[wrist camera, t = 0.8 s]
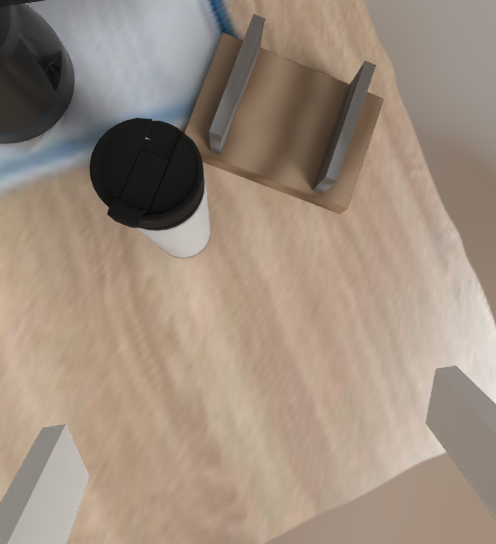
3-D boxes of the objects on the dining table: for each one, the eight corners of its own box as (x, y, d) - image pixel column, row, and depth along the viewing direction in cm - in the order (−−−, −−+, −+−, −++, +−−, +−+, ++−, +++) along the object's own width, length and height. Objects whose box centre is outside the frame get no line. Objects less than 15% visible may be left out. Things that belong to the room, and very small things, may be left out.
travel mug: (146, 249, 37) (63, 200, 17) (167, 196, 37) (111, 89, 18) (198, 269, 37) (176, 243, 17) (218, 216, 38) (219, 132, 18)
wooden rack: (182, 154, 38) (174, 123, 31) (222, 48, 39) (224, -4, 32) (339, 213, 39) (366, 197, 32) (373, 110, 40) (406, 73, 34)
